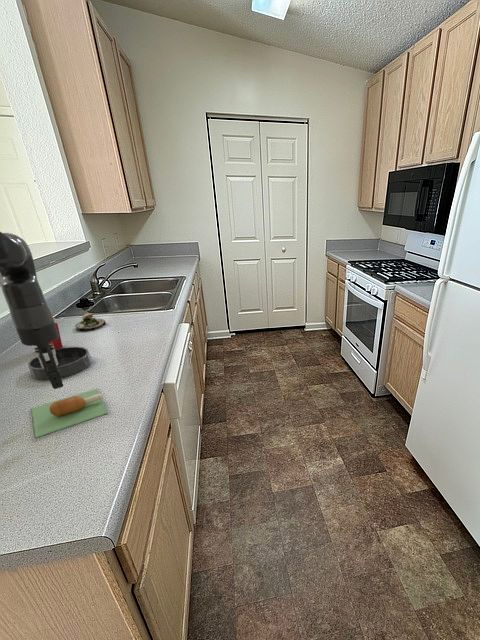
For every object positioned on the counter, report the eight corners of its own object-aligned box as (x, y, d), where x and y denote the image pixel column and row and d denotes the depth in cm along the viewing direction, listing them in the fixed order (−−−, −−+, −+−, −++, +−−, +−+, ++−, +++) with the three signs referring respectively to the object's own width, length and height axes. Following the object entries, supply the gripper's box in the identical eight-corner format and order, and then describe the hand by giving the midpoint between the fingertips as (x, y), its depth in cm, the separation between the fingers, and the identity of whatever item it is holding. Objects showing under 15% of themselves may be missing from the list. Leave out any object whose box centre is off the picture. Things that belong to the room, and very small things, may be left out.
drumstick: (53, 420, 88) (50, 415, 85) (49, 407, 89) (45, 402, 86) (105, 404, 95) (103, 399, 92) (100, 391, 96) (99, 386, 93)
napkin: (32, 409, 92) (31, 408, 92) (96, 389, 101) (96, 388, 101) (35, 438, 81) (35, 437, 81) (107, 413, 90) (107, 412, 90)
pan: (31, 366, 116) (26, 356, 114) (87, 352, 125) (83, 342, 123) (34, 385, 104) (29, 374, 102) (95, 369, 113) (92, 358, 111)
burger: (76, 333, 143) (70, 317, 139) (75, 325, 152) (70, 310, 148) (107, 327, 148) (103, 311, 145) (104, 320, 157) (100, 305, 154)
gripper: (14, 318, 82) (37, 375, 89) (15, 334, 72) (41, 397, 80) (50, 312, 86) (69, 367, 94) (56, 327, 77) (77, 387, 84)
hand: (56, 380), depth 87 cm, fingers open, 8 cm apart
